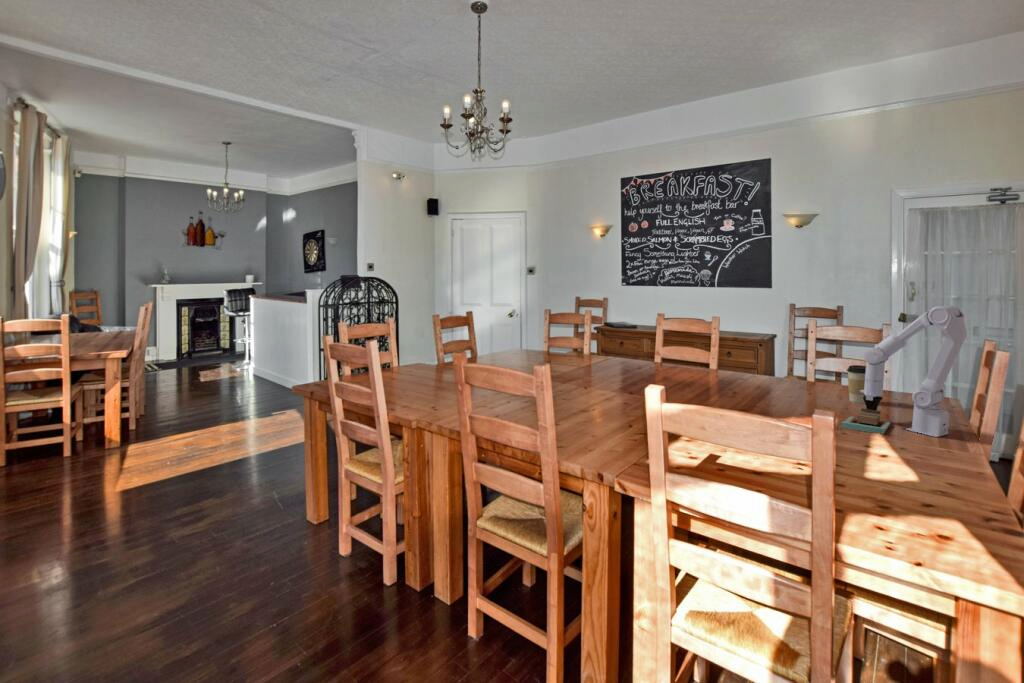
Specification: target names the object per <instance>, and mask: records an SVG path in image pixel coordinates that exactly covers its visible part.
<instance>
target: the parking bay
mask: <svg viewBox="0 0 1024 683" xmlns="http://www.w3.org/2000/svg"><path fill="white" fill-rule="evenodd" d="M854 421H855V416H852V415H850V416H849V417H847V418H846V419H845V420H844V421H843V420H842V421H841V424H840V425H841V426H840V428H842V427H843V428H842V429H846V428H847V429H848V430H853V431H858V430H860V431H859V432H864V431H868V432H867V433H870V432H874V433H873V434H876V433H880V434H879V435H882V434H883V435H884V434H885V433H886V432H887V430H888V429H889V428H888V427H890V426H891V422H890V421H884V422H883V423H882V425H881V426H880V427H879V426H872V425H868V424H863V423H862V424H859V423H855V422H854ZM847 429H846V430H847ZM885 431H886V432H885Z"/></svg>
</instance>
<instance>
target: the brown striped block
mask: <svg viewBox="0 0 1024 683" xmlns="http://www.w3.org/2000/svg"><path fill="white" fill-rule="evenodd" d="M881 413H882V411H881V410H878V409H877V410H870V409H866V408H862V407H861V408H860V412H859V413H858V414H857V416H856V422H857V424H862V425H863V424H866V425H868V424H869V425H871V426H872V425H873V426H874V427H877V425H878V424H879V422H880V421H881Z"/></svg>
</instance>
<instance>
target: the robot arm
mask: <svg viewBox="0 0 1024 683" xmlns="http://www.w3.org/2000/svg"><path fill="white" fill-rule="evenodd" d="M930 326H935V327H937V328H938V329H939V330H940V332H941V333H942V334H943V336H944V338H943V340H942V342H941V344H940V347H939V349H938V351H937V354H936V356H935V358H934V360H933V363H932V364H931V367H930V369H929V371H928V373H927V375H926V377H925V379H924V380H923V381H922V383H921V384H920V385H919V387H918V389H916V390H915V391H913V393H912V396H911V401H912V402H913V411H912V412H913V414H912V424H911V427H907V428H905V430H906V431H908V430H909V432H913V433H917V432H918V434H921V433H922V435H926V436H931V437H935V438H939V437H943V436H945V435H949V434H950V432H949V425H950V412H949V411H947V410H944V409H942V408H941V407H942V406H941V404H940V403H941V402H942V401H944V398H945V395H944V394H945V393H944V390H945V388H946V385H945V383H946V380H947V378H948V376H949V374H950V372H951V370H952V368H953V366H954V363H955V362H956V359H957V357H958V355H959V353H960V351H961V349H962V346H963V344H964V343H965V340H966V338H967V335H968V332H967V328H966V324H965V314H964V313H963V312H962V311H961V310H960V308H959V307H957V306H955V305H952V304H946V305H942V306H941V305H939V306H934V307H932V308H930V310H928V311H925V312H923V314H921V315H920V316H919V317H918V318H916V319H915V320H913V321H912V322H911V323H910V324H908V326H906V327H905V328H903V329H902V330H901V331H900V332H898V333H891V334H886V336H884V339H882V341H880V342H879V343H875V344H874V345H873V346H874V347H872V348H871V347H870V348H868V349H867V350H866V351H865V352H864V353H863V354H864V355H863V357H864V358H863V359H864V361H865V363H866V365H865V366H866V373H865V386H864V390H860V392H862V393H864V394H865V395H866V396H863V400H864V402H865V403H864V404H865V409H870V410H877V411H878V408H879V406H880V403H881V402H882V400H883V397H882V396H883V395H884V392H883V391H884V382H885V381H884V380H885V379H884V378H885V368H886V367H885V366H886V365H885V364H886V362H887V361H888V360H889V358H890V357H891V356H893V355H894V354H895V353H897V352H899V351H900V350H901V349H903V348H904V347H905V346H906V343H907V340H908V339H910V338H912V337H913V336H915V335H916V334H918V333H919V332H921V331H923V330H924V329H926V328H927V327H930Z"/></svg>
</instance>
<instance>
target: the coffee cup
mask: <svg viewBox="0 0 1024 683" xmlns="http://www.w3.org/2000/svg"><path fill="white" fill-rule="evenodd" d="M846 371H847V375H848V376H847V382H848V383H847V385H848V394H849V397H848V398H849V402H851V401H852V402H851V403H855V402H857V404H865V402H864V400H863V396H866V395H865V394H864V393H862V392H860V390H864V386H865V373H866V365H858V364H857V365H855V364H854V365H853V364H852V365H849V366H848V368H847V369H846Z"/></svg>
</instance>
